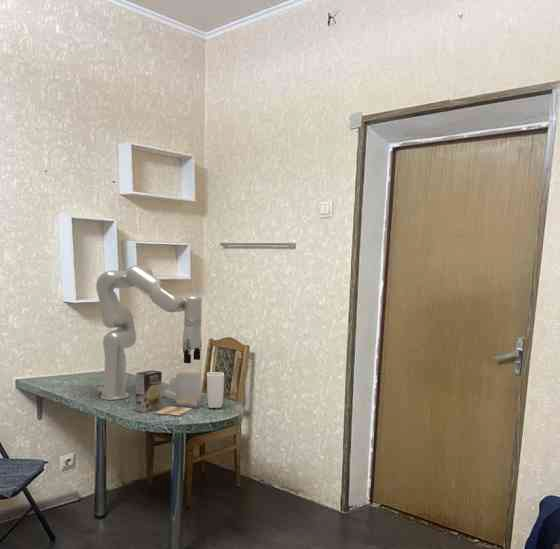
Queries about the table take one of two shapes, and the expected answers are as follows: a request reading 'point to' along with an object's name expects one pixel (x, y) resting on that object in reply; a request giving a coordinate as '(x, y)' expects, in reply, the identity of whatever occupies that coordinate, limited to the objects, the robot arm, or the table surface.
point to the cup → (215, 389)
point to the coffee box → (148, 391)
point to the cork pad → (172, 411)
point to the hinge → (171, 389)
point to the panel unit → (188, 390)
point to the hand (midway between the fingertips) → (192, 361)
